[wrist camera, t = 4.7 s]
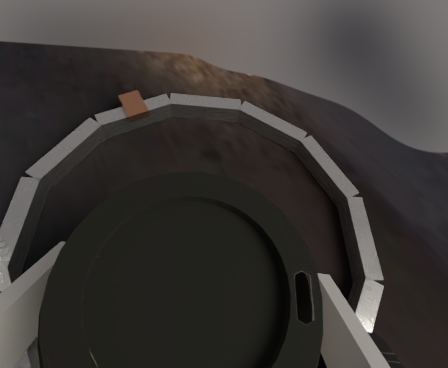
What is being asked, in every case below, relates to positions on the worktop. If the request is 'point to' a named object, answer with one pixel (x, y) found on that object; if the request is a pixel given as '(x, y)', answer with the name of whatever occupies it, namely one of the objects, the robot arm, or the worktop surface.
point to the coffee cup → (182, 282)
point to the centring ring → (194, 109)
